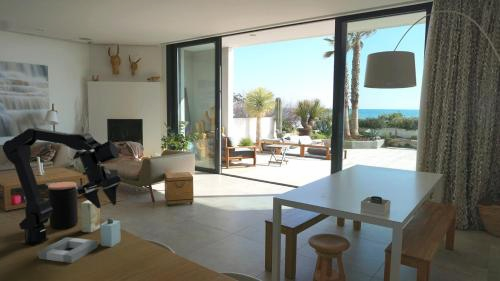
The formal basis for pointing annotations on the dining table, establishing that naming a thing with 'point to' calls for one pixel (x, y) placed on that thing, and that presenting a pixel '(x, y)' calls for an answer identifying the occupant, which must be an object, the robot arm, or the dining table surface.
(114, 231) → the plug
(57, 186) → the coffee jar
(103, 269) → the dining table surface
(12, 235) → the dining table surface
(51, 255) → the socket block
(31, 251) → the dining table surface
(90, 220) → the skincare box
